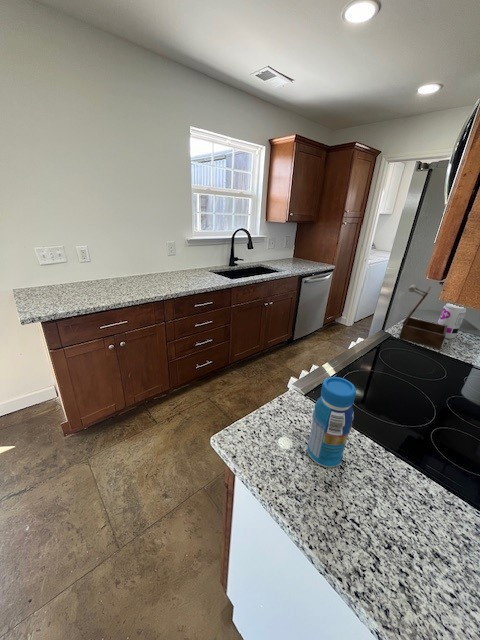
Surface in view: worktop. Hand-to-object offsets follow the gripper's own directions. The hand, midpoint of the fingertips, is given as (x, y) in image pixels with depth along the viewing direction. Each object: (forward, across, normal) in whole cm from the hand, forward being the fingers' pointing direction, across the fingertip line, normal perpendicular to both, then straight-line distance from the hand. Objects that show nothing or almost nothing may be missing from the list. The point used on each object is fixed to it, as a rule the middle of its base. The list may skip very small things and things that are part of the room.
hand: (461, 286), depth 123 cm
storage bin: (+21, +8, -22) cm, 32 cm away
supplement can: (+9, 0, -22) cm, 24 cm away
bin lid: (+21, +13, -7) cm, 26 cm away
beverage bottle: (+108, +20, -21) cm, 112 cm away
